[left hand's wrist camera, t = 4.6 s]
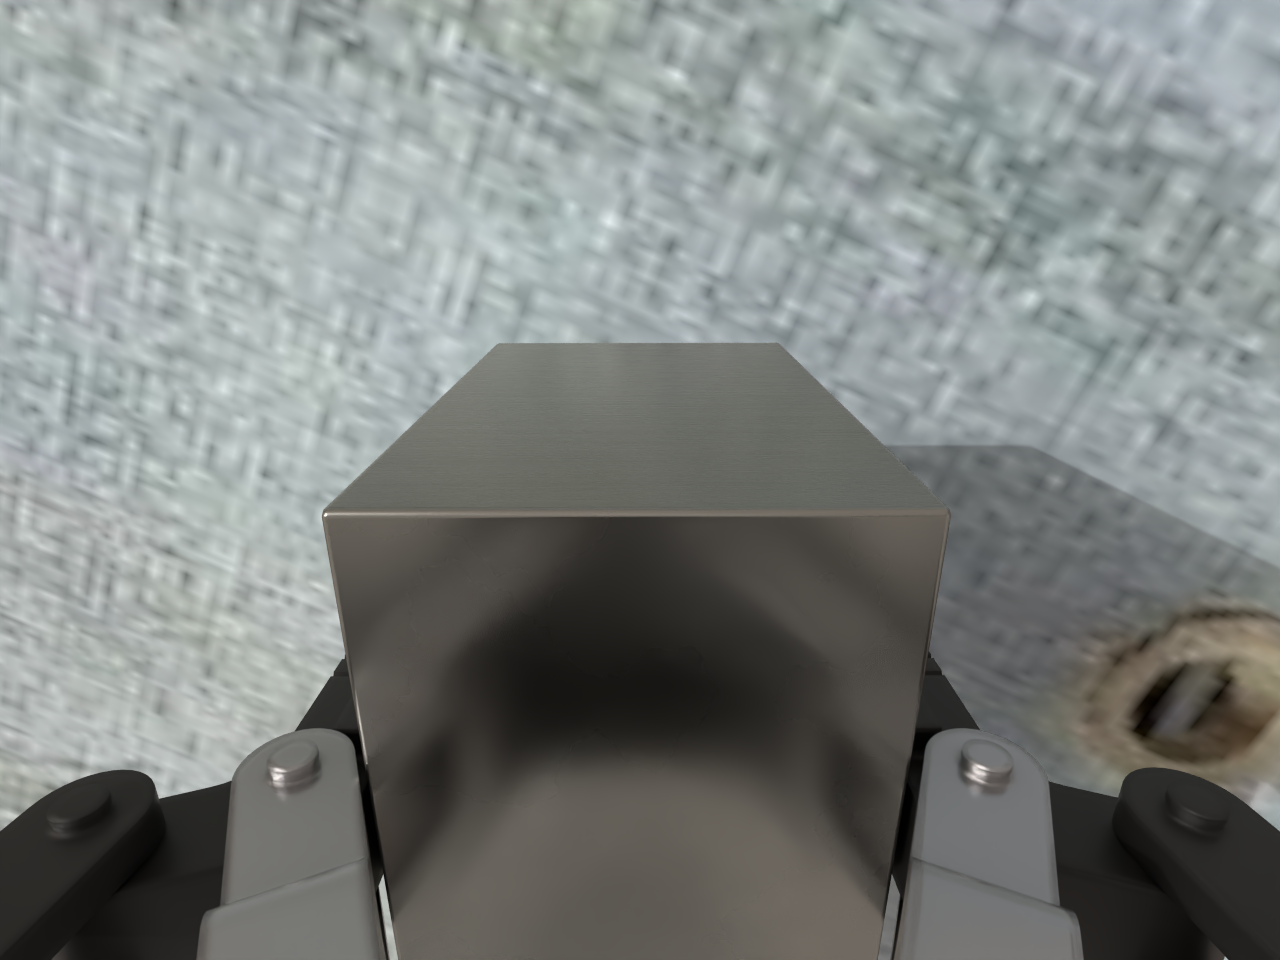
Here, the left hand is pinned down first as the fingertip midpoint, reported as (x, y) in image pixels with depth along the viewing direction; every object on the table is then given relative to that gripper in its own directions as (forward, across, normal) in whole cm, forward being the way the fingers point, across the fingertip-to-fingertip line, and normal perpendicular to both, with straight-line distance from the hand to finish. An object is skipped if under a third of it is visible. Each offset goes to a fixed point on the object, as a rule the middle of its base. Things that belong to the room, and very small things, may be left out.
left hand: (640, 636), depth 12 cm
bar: (+4, 0, -8) cm, 9 cm away
